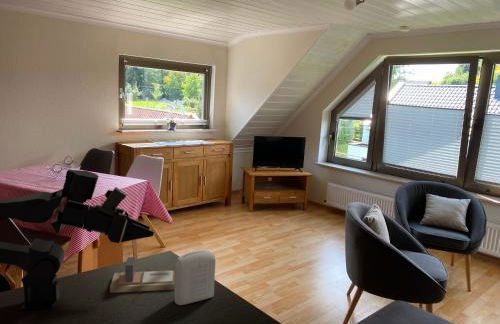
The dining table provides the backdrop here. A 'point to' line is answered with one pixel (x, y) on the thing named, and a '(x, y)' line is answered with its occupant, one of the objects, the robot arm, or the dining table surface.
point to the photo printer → (194, 277)
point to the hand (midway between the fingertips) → (151, 231)
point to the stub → (130, 273)
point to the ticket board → (146, 282)
